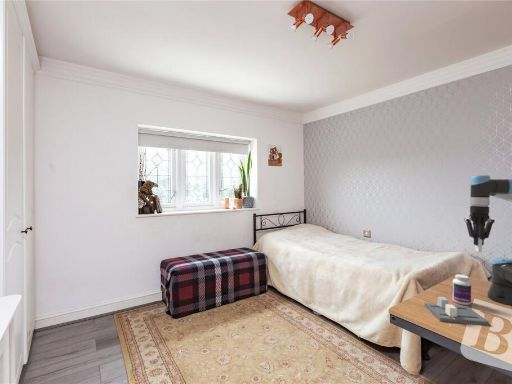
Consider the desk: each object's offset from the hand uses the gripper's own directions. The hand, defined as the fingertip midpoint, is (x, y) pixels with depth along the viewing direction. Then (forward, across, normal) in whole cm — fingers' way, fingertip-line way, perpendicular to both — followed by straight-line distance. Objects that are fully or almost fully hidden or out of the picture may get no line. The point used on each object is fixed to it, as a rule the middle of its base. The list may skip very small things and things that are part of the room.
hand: (478, 251), depth 136 cm
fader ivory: (+28, +19, +15) cm, 37 cm away
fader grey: (+28, +19, +6) cm, 34 cm away
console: (+29, +16, +10) cm, 35 cm away
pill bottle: (+30, +4, -6) cm, 30 cm away
